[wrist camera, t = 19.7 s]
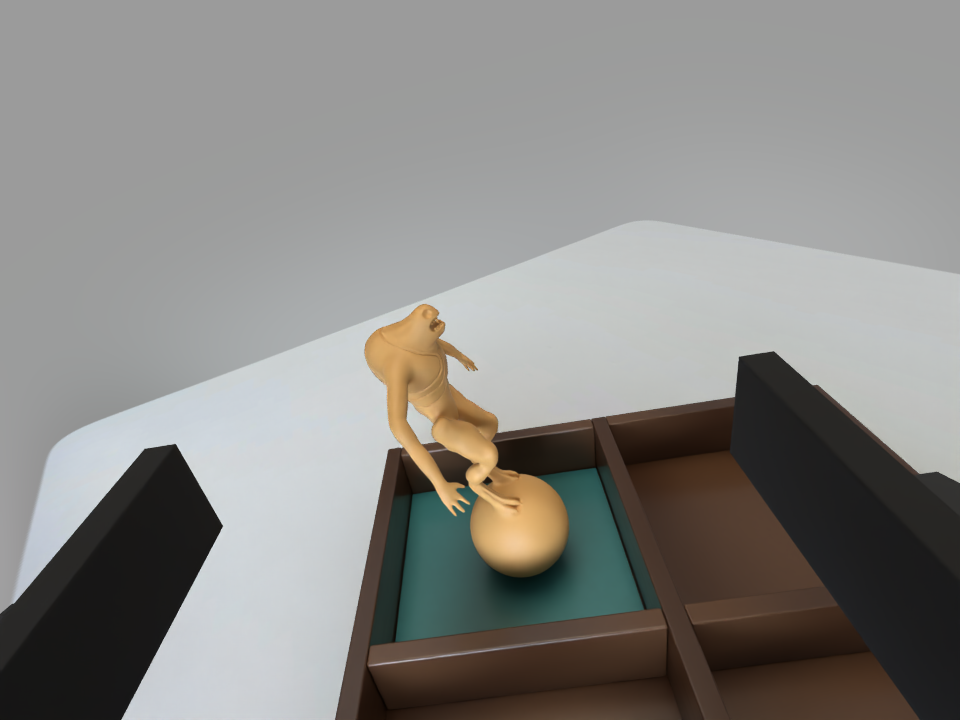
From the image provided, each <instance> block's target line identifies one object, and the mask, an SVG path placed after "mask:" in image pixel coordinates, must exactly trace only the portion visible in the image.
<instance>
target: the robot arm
mask: <svg viewBox="0 0 960 720" xmlns="http://www.w3.org/2000/svg"><path fill="white" fill-rule="evenodd" d="M730 453H731V455H732V456H733V458H734V459H735V460H736V462H737V463H738V465H739V466H740V467H741V469H742V470H743V472H744V473H745V474H746V476H747V477H748V479H749V480H750V481H751V483H752V484H753V486H754V487H755V489H756V490H757V491H758V493H759V494H760V496H761V497H762V498H763V500H764V501H765V503H766V504H767V505H768V507H769V508H770V510H771V511H772V512H773V514H774V515H775V517H776V518H777V519H778V521H779V522H780V524H781V525H782V527H783V528H784V529H785V531H786V532H787V534H788V535H789V536H790V538H791V539H792V541H793V542H794V543H795V545H796V546H797V548H798V549H799V550H800V552H801V553H802V555H803V556H804V557H805V559H806V560H807V562H808V563H809V565H810V566H811V567H812V569H813V570H814V572H815V573H816V574H817V576H818V577H819V579H820V580H821V581H822V583H823V584H824V586H825V587H826V588H827V590H828V591H829V593H830V594H831V595H832V597H833V598H834V600H835V601H836V602H837V604H838V605H839V607H840V608H841V610H842V611H843V612H844V614H845V615H846V617H847V618H848V619H849V621H850V622H851V624H852V625H853V626H854V628H855V629H856V631H857V632H858V633H859V635H860V636H861V638H862V639H863V640H864V642H865V643H866V645H867V646H868V648H869V649H870V650H871V652H872V653H873V655H874V656H875V657H876V659H877V660H878V662H879V663H880V664H881V666H882V667H883V669H884V670H885V671H886V673H887V674H888V676H889V677H890V678H891V680H892V681H893V683H894V684H895V686H896V687H897V688H898V690H899V691H900V693H901V694H902V695H903V697H904V698H905V700H906V701H907V702H908V704H909V705H910V707H911V708H912V709H913V711H914V712H915V714H916V715H917V716H918V718H919V719H920V720H960V483H958V482H956V481H954V480H952V479H950V478H948V477H947V476H945V475H943V474H941V473H939V472H932V473H925V474H918V475H913V474H912V473H911V472H910V471H908V470H907V469H906V468H905V467H904V466H903V465H902V464H900V463H899V462H898V461H897V460H896V459H895V458H894V457H893V456H891V455H890V454H889V453H888V452H887V451H886V450H885V449H884V448H882V447H881V446H880V445H879V444H878V443H877V442H876V441H875V440H873V439H872V438H871V437H870V436H869V435H868V434H867V433H866V432H864V431H863V430H862V429H861V428H860V427H859V426H858V425H856V424H855V423H854V422H853V421H852V420H851V419H850V418H849V417H847V416H846V415H845V414H844V413H843V412H842V411H841V410H840V409H838V408H837V407H836V406H835V405H834V404H833V403H832V402H831V401H829V400H828V399H827V398H826V397H825V396H824V395H823V394H821V393H820V392H819V391H818V390H817V389H816V388H815V387H814V386H812V385H811V384H810V383H809V382H808V381H807V380H806V379H805V378H803V377H802V376H801V375H800V374H799V373H798V372H797V371H796V370H794V369H793V368H792V367H791V366H790V365H789V364H788V363H786V362H785V361H784V360H783V359H782V358H781V357H780V356H779V355H777V354H776V353H775V352H774V351H773V352H767V353H760V354H754V355H747V356H741V357H739V362H738V372H737V383H736V393H735V404H734V414H733V424H732V435H731V445H730ZM222 527H223V525H222V524H221V522H220V520H219V518H218V517H217V515H216V513H215V511H214V510H213V508H212V506H211V504H210V503H209V501H208V499H207V498H206V496H205V494H204V492H203V491H202V489H201V487H200V485H199V484H198V482H197V480H196V478H195V477H194V475H193V473H192V471H191V470H190V468H189V466H188V465H187V463H186V461H185V459H184V458H183V456H182V454H181V452H180V451H179V449H178V447H177V445H176V444H173V445H167V446H160V447H154V448H148V449H144V450H143V452H142V453H141V454H140V455H139V456H138V458H137V459H136V460H135V461H134V462H133V464H132V465H131V466H130V467H129V468H128V469H127V471H126V472H125V473H124V474H123V475H122V477H121V478H120V479H119V480H118V481H117V482H116V484H115V485H114V486H113V487H112V488H111V490H110V491H109V492H108V493H107V494H106V496H105V497H104V498H103V499H102V500H101V501H100V503H99V504H98V505H97V506H96V507H95V509H94V510H93V511H92V512H91V513H90V514H89V516H88V517H87V518H86V519H85V520H84V522H83V523H82V524H81V525H80V526H79V528H78V529H77V530H76V531H75V532H74V533H73V535H72V536H71V537H70V538H69V539H68V541H67V542H66V543H65V544H64V545H63V546H62V548H61V549H60V550H59V551H58V552H57V554H56V555H55V556H54V557H53V558H52V560H51V561H50V562H49V563H48V564H47V565H46V567H45V568H44V569H43V570H42V571H41V573H40V574H39V575H38V576H37V577H36V578H35V580H34V581H33V582H32V583H31V584H30V586H29V587H28V588H27V589H26V590H25V592H24V593H23V594H22V595H21V596H20V597H19V599H18V600H17V601H16V602H15V603H14V604H11V605H10V606H9V607H8V608H7V609H5V610H4V611H3V612H2V613H1V614H0V720H121V719H122V717H123V715H124V713H125V712H126V710H127V708H128V706H129V704H130V702H131V700H132V698H133V696H134V694H135V693H136V691H137V689H138V687H139V685H140V683H141V681H142V679H143V677H144V675H145V674H146V672H147V670H148V668H149V666H150V664H151V662H152V660H153V658H154V656H155V655H156V653H157V651H158V649H159V647H160V645H161V643H162V641H163V639H164V637H165V636H166V634H167V632H168V630H169V628H170V626H171V624H172V622H173V620H174V618H175V617H176V615H177V613H178V611H179V609H180V607H181V605H182V603H183V601H184V599H185V598H186V596H187V594H188V592H189V590H190V588H191V586H192V584H193V582H194V580H195V579H196V577H197V575H198V573H199V571H200V569H201V567H202V565H203V563H204V561H205V560H206V558H207V556H208V554H209V552H210V550H211V548H212V546H213V544H214V542H215V541H216V539H217V537H218V535H219V533H220V531H221V529H222Z"/></svg>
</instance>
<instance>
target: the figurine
mask: <svg viewBox="0 0 960 720" xmlns="http://www.w3.org/2000/svg"><path fill="white" fill-rule="evenodd" d="M438 315H439V312H438V310H436V309H435V308H434V307H432V306H430V305H427V304H422V305H420V306H418V307H417V308H416V309H415V310H414V311H413V312H412V313H411V314H410V315H409V316H408V317H406V318H405V319H403V320H402V321H400V322H397V323H394V324H391V325H388V326H386V327H382V328H380V329H378V330H376V331H375V332H374V333H373V334H372V335H371V336H370V337H369V338H368V340H367V342H366V344H365V358H366V361H367V364H368V366H369V368H370V369H371V371H372V372H373V373H374V374H375V376H376V377H377V378H378V379H379V380H380V381H381V382H383V383H384V384H385V385H386V386H387V408H388V421H389V426H390V429H391V431H392V433H393V434H394V436H395V438H396V439H397V440H398V441H399V443H400V444H401V445H402V446H403V447H404V448H405V450H406V451H407V452H408V453H409V455H410V456H411V458H412V459H413V461H414V462H415V463H416V464H417V466H418V467H419V468H420V469H421V471H422V472H423V473H424V474H425V475H426V476H427V477H428V478H429V479H430V481H431V482H432V483H433V485H434V487H435V489H436V491H437V493H438V495H439V497H440V498H441V500H442V502H443V503H444V504H445V505H446V506H447V508H448V509H449V510H450V511H451V512H452V514H453V515H455V516H456V513H455V511H454V510H453V507H452V505H454V506H455V507H456V508H458V509H459V510H460V511H462V512H465V510H464V509H463V508H462V507H461V505H460V504H459V503H458V502H457V500H461V501H462V502H464V503H466V504H469V505H470V502H469V501H467V500H466V499H465V498H464V497H463V496H462V495H461V494H459V493H458V492H457V491H456V489H457V488H465V486H464V485H462V484H459V483H448V482H447V481H446V480H445V479H444V477H443V475H442V474H441V472H440V470H439V468H438V466H437V464H436V463H435V461H434V459H433V458H432V456H431V455H430V454H429V452H428V451H427V450H426V449H425V448H424V447H423V445H422V444H421V443H420V442H419V440H418V439H417V437H416V435H415V433H414V432H413V430H412V429H411V427H410V425H409V424H408V422H407V420H406V418H407V409H408V401H409V402H410V403H412V404H413V406H414V407H415V409H416V410H417V411H418V412H419V413H421V414H423V415H424V416H426V417H427V418H428V419H429V420H430V421H431V422H432V423H433V424H434V425H433V426H432V430H431V432H432V436H433V438H434V439H435V440H436V441H437V442H438V443H440V444H442V445H444V446H445V447H446V448H447V449H448V450H450V451H452V452H456V453H458V454H460V455H462V456H463V457H465V458H467V459H469V460H471V462H472V463H473V465H472V466H470V467H469V468H468V470H467V472H466V479H467V480H468V482H469V487H470V488H471V489H472V490H473V491H474V492H475V493H476V494H478V495H479V496H478V498H477V500H476V501H475V504H474V506H473V509H472V513H471V520H470V530H471V536H472V540H473V543H474V546H475V548H476V550H477V552H478V553H479V555H480V556H481V558H482V559H483V560H484V561H485V562H486V563H487V564H488V565H489V566H490V567H491V568H493V569H494V570H496V571H498V572H500V573H502V574H504V575H507V576H511V577H520V578H522V577H531V576H534V575H537V574H540V573H542V572H544V571H546V570H547V569H549V568H550V567H551V566H552V565H553V564H554V563H555V562H556V561H557V560H558V559H559V557H560V556H561V554H562V553H563V551H564V549H565V546H566V544H567V540H568V535H569V519H568V514H567V510H566V507H565V505H564V503H563V501H562V499H561V498H560V496H559V495H558V493H557V492H556V491H555V490H554V489H553V488H552V487H551V486H550V485H549V484H547V483H546V482H544V481H543V480H541V479H539V478H537V477H534V476H531V475H526V474H518V473H517V472H515V471H511V470H501V469H499V468H497V467H496V464H497V461H498V450H497V448H496V446H495V445H494V444H493V443H492V442H491V440H492V439H493V438H494V436H495V434H496V432H497V429H498V420H497V418H496V416H495V415H494V414H492V413H490V412H487V411H485V410H483V409H482V408H480V407H479V406H478V405H476V404H475V403H473V402H471V401H470V400H468V399H466V398H465V397H464V396H463V395H462V394H461V393H460V392H459V391H457V390H456V389H455V388H454V387H453V386H452V385H451V384H449V382H448V379H447V375H448V366H447V359H446V355H445V354H447V355H449V356H452V357H455V358H456V359H458V360H459V362H461V363H462V364H463V365H464V366H465V368H466V369H467V370H468V371H469V369H468V367H469V368H471V369H472V370H473V371H475V370H474V369H476V370H477V371H478V369H477V368H476V367H475V365H474V363H473V362H472V361H471V360H470V359H469V358H467V357H466V356H465V355H463V354H462V353H461V352H460V351H458V350H457V349H456V348H455V347H454V346H452V345H451V344H449V343H447V342H445V341H443V340H441V339H439V337H440V336H441V334H442V333H443V332H444V329H445V323H444V322H442V321H441V320H438V319H437V316H438ZM435 320H436V321H435ZM467 366H468V367H467ZM487 476H488V477H489V478H490V479H492V481H493V482H492V483H490V484H489V485H488V486H487V485H486V484H484V483H482V481H484V479H485V478H486V477H487Z"/></svg>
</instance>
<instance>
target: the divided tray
mask: <svg viewBox="0 0 960 720" xmlns="http://www.w3.org/2000/svg"><path fill="white" fill-rule="evenodd" d="M813 386H814V387H815V388H816V389H817V390H818V391H819V392H820V393H821V394H823V395H824V396H825V397H826V398H827V399H828V400H829V401H831V402H832V403H833V404H834V405H835V406H836V407H837V408H838V409H840V410H841V411H842V412H843V413H844V414H845V415H846V416H847V417H849V418H850V419H851V420H852V421H853V422H854V423H855V424H856V425H858V426H859V427H860V428H861V429H862V430H863V431H864V432H866V433H867V434H868V435H869V436H870V437H871V438H872V439H873V440H875V441H876V442H877V443H878V444H879V445H880V446H881V447H882V448H884V449H885V450H886V451H887V452H888V453H889V454H890V455H891V456H893V457H894V458H895V459H896V460H897V461H898V462H899V463H900V464H902V465H903V466H904V467H905V468H906V469H907V470H908V471H910V472H911V473H912V474H913V475H918V474H919V473H918V472H917V471H915V470H914V469H913V468H912V467H911V466H910V465H909V464H907V463H906V462H905V461H904V460H903V459H902V458H901V457H899V456H898V455H897V454H896V453H895V452H894V451H893V450H891V449H890V448H889V447H888V446H887V445H886V444H885V443H883V442H882V441H881V440H880V439H879V438H878V437H877V436H875V435H874V434H873V433H872V432H871V431H870V430H869V429H867V428H866V427H865V426H864V425H863V424H862V423H861V422H859V421H858V420H857V419H856V418H855V417H854V416H853V415H851V414H850V413H849V412H848V411H847V410H846V409H845V408H843V407H842V406H841V405H840V404H839V403H838V402H837V401H835V400H834V399H833V398H832V397H831V396H830V395H829V394H827V393H826V392H825V391H824V390H823V389H822V388H821V387H819V386H818V385H813ZM734 404H735V397H733V398H726V399H719V400H713V401H706V402H699V403H693V404H686V405H680V406H673V407H666V408H660V409H653V410H646V411H640V412H633V413H626V414H620V415H613V416H606V418H605V417H600V418H594V419H591V420H590V419H588V420H581V421H575V422H568V423H561V424H555V425H548V426H541V427H535V428H528V429H522V430H515V431H508V432H502V433H496V434H495V436H494V438H493V439H492V440H491V442H492V443H493V444H494V445H495V446H496V448H497V450H498V461H497V464H496V467H497V468H499V469H501V470H511V471H515V472H517V473H518V474H526V475H531V476H534V477H537V478H539V479H541V480H543V481H544V482H546V483H547V484H549V485H550V486H551V487H552V488H553V489H554V490H555V491H556V492H557V493H558V495H559V496H560V498H561V499H562V501H563V503H564V505H565V507H566V510H567V514H568V519H569V535H568V540H567V544H566V546H565V549H564V551H563V553H562V554H561V556H560V557H559V559H558V560H557V561H556V562H555V563H554V564H553V565H552V566H551V567H550V568H549V569H547V570H546V571H544V572H542V573H540V574H537V575H534V576H531V577H522V578H520V577H511V576H507V575H504V574H502V573H500V572H498V571H496V570H494V569H493V568H491V567H490V566H489V565H488V564H487V563H486V562H485V561H484V560H483V559H482V558H481V556H480V555H479V553H478V552H477V550H476V548H475V546H474V543H473V540H472V536H471V530H470V520H471V513H472V509H473V506H474V504H475V501H476V500H477V498H478V496H479V495H478V494H476V493H475V492H474V491H473V490H472V489H471V488H470V487H469V482H468V480H467V479H466V472H467V470H468V468H469V467H470V466H472V465H473V463H472V462H471V460H469V459H467V458H465V457H463V456H462V455H460V454H458V453H456V452H452V451H450V450H448V449H447V448H446V447H445V446H444V445H442V444H440V443H438V442H435V443H428V444H422V445H423V447H424V448H425V449H426V450H427V451H428V452H429V454H430V455H431V456H432V458H433V459H434V461H435V463H436V464H437V466H438V468H439V470H440V472H441V474H442V475H443V477H444V479H445V480H446V481H447V482H448V483H459V484H462V485H464V486H465V488H457V489H456V491H457V492H458V493H459V494H461V495H462V496H463V497H464V498H465V499H466V500H467V501H469V502H470V505H469V504H466V503H464V502H462V501H461V500H457V502H458V503H459V504H460V505H461V507H462V508H463V509H464V510H465V512H462V511H460V510H459V509H458V508H456V507H455V506H454V505H452V507H453V510H454V511H455V513H456V516H455V515H453V514H452V512H451V511H450V510H449V509H448V508H447V506H446V505H445V504H444V503H443V502H442V500H441V498H440V497H439V495H438V493H437V491H436V489H435V487H434V485H433V483H432V482H431V481H430V479H429V478H428V477H427V476H426V475H425V474H424V473H423V472H422V471H421V469H420V468H419V467H418V466H417V464H416V463H415V462H414V461H413V459H412V458H411V456H410V455H409V453H408V452H407V451H406V450H405V448H404V447H403V448H395V449H389V450H388V454H387V459H386V464H385V470H384V475H383V480H382V485H381V490H380V495H379V500H378V505H377V510H376V515H375V520H374V525H373V530H372V535H371V540H370V545H369V551H368V556H367V561H366V566H365V571H364V576H363V581H362V586H361V591H360V596H359V601H358V606H357V611H356V616H355V621H354V627H353V632H352V637H351V642H350V647H349V652H348V657H347V662H346V667H345V672H344V677H343V682H342V687H341V692H340V697H339V702H338V708H337V713H336V718H335V720H920V719H919V718H918V716H917V715H916V714H915V712H914V711H913V709H912V708H911V707H910V705H909V704H908V702H907V701H906V700H905V698H904V697H903V695H902V694H901V693H900V691H899V690H898V688H897V687H896V686H895V684H894V683H893V681H892V680H891V678H890V677H889V676H888V674H887V673H886V671H885V670H884V669H883V667H882V666H881V664H880V663H879V662H878V660H877V659H876V657H875V656H874V655H873V653H872V652H871V650H870V649H869V648H868V646H867V645H866V643H865V642H864V640H863V639H862V638H861V636H860V635H859V633H858V632H857V631H856V629H855V628H854V626H853V625H852V624H851V622H850V621H849V619H848V618H847V617H846V615H845V614H844V612H843V611H842V610H841V608H840V607H839V605H838V604H837V602H836V601H835V600H834V598H833V597H832V595H831V594H830V593H829V591H828V590H827V588H826V587H825V586H824V584H823V583H822V581H821V580H820V579H819V577H818V576H817V574H816V573H815V572H814V570H813V569H812V567H811V566H810V565H809V563H808V562H807V560H806V559H805V557H804V556H803V555H802V553H801V552H800V550H799V549H798V548H797V546H796V545H795V543H794V542H793V541H792V539H791V538H790V536H789V535H788V534H787V532H786V531H785V529H784V528H783V527H782V525H781V524H780V522H779V521H778V519H777V518H776V517H775V515H774V514H773V512H772V511H771V510H770V508H769V507H768V505H767V504H766V503H765V501H764V500H763V498H762V497H761V496H760V494H759V493H758V491H757V490H756V489H755V487H754V486H753V484H752V483H751V481H750V480H749V479H748V477H747V476H746V474H745V473H744V472H743V470H742V469H741V467H740V466H739V465H738V463H737V462H736V460H735V459H734V458H733V456H732V455H731V453H730V445H731V435H732V424H733V414H734ZM492 482H493V481H492V479H490V478H489V477H488V476H487V477H486V478H485V479H484V481H482V483H484V484H486V485H487V486H488V485H489V484H490V483H492Z"/></svg>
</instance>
